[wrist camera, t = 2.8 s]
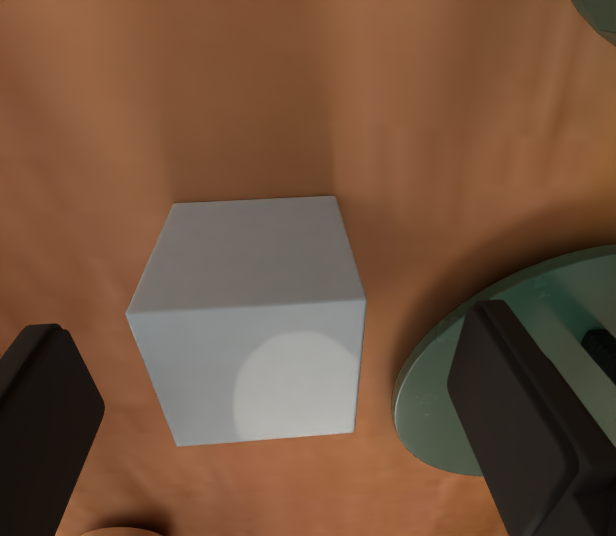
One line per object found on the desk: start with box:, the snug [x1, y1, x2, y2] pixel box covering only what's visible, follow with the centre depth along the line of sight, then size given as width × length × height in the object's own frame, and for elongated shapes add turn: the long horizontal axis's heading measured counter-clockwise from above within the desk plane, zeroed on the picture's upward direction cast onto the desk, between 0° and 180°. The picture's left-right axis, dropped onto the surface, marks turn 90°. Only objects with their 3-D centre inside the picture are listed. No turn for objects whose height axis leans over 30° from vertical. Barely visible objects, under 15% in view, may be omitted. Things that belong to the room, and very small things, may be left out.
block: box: [126, 196, 367, 447], centre depth 10 cm, size 4×4×4 cm
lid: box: [391, 244, 616, 476], centre depth 14 cm, size 13×13×6 cm
